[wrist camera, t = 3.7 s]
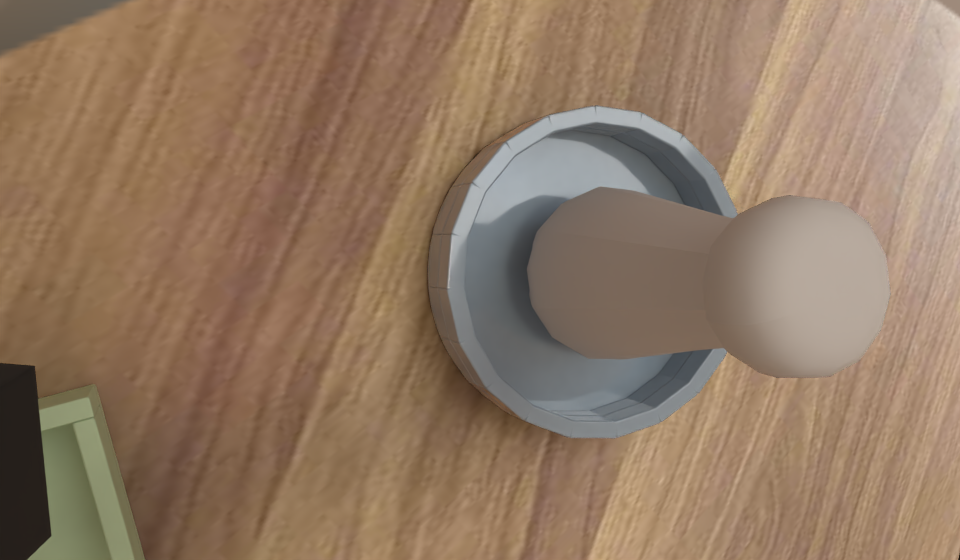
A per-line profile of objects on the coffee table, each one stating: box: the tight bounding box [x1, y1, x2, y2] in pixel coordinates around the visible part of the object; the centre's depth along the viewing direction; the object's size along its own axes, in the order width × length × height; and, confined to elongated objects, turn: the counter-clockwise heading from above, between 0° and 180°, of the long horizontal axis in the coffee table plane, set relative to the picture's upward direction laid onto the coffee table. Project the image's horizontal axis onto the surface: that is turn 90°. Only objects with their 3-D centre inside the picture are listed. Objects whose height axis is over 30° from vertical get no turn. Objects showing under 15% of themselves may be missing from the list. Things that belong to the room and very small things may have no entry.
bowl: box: [428, 105, 738, 438], centre depth 31 cm, size 11×11×2 cm
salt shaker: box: [527, 186, 891, 378], centre depth 26 cm, size 6×6×13 cm
